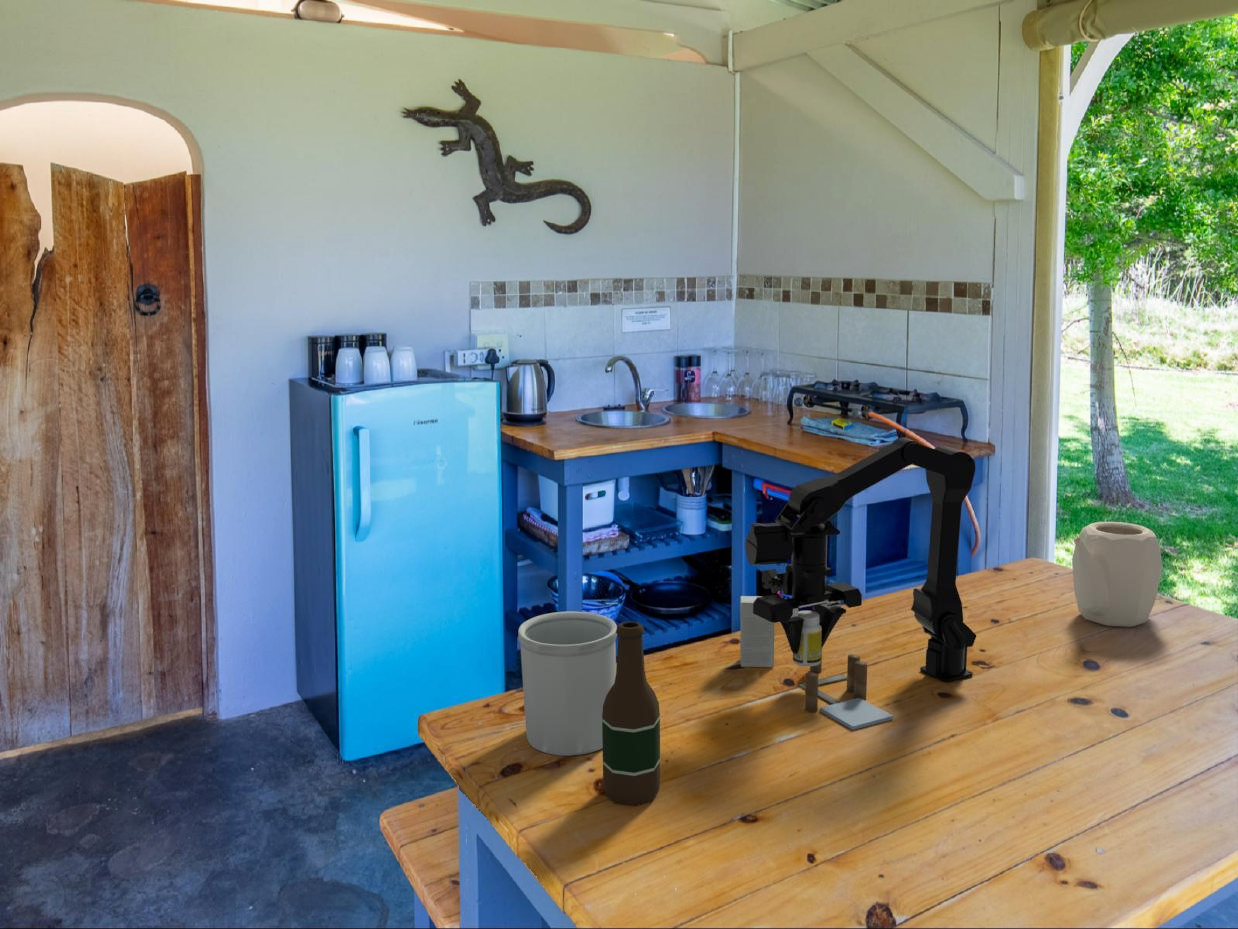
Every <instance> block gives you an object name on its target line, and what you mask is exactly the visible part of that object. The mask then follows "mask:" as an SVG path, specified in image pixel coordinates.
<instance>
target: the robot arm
mask: <svg viewBox="0 0 1238 929" xmlns="http://www.w3.org/2000/svg"><path fill="white" fill-rule="evenodd" d="M911 465H913V466H916V467H918V468H919V467H920V468H922V469H924V470H925V478H926V483H927V485H928V488H929V492H930V493H929V494H930V496H931V497H932V500H931V501H932V503H931V504H932V507H931V515H930V516H931V518H930V530H929V531H930V532H929V545H928V559H927V560H928V561H927V572H926V579H925V582H924V584H923V585H922V587H921V588H916V587H915V588H913V591H912V595H913V596H912V597H913V602H912V605H911V607H910V611H912V612H914V618H915V620H916V621H917V622H918V623H919V625H921V626H922V629H923V633H925V634H927V635H929V636H930V638H927V648H926V649H925V665H924V666H920V668H919V671H921V672H924V673H926V674H927V675H929V676H933V678H936V679H939V680H940V681H942V682H946V683H947V682H948V683H949V682H952V681H957V680H960V679H965V678H968V677H972V676H974V672H973V671H971V670H969V669H967V661H968V660H967V659H968V648H971V647H973V646H974V644H975V642H976V638H977V634H976V633H975V632H974V631H973V630H972V629H971V628H970V627H969V626H968V625H967V624H966V623H965V622H964V614H963V613H964V612H963V602H962V600H961V597H960V593H959V590H958V587H957V572H958V560H959V559H958V558H959V557H958V556H959V550H960V549H959V547H960V536H961V523H962V511H963V503H964V501H965V499H966V497H967V496H968V494H969V493H970V491H971V490H972V487H973V482H974V479H975V474H976V470H977V466H976V461H975V459H974V458H973V457H972V455H970V454H969V453H968V452H966V451H963V450H959V449H956V448H953V447H950V446H947V445H946V446H945V445H940V446H936V447H935V448H932V447H929V446H926V445H924V444H920V443H919V442H918V441H915V440H913V439H910V438H907V437H900V438H897V439H895V440H894V441H892V443H890V444H888V445H887V446H885V447H883V448H881V449H879V450H877V451H875V452H874V453H872V454H871V455H868V456H867V457H864V458H863V459H861V460H858V461H857V462H856V463H854V464H852V465H850V466H848V467H846V468H845V469H843V470H841V471H839V472H837V473H835V474H832V475H830V476H825V477H819V478H814V479H811V480H808V481H806V482H803V483H799V484H797V485H796V486H794V487H793V488H792V490H790V492H789V493H790V494H789V497H788V501H787V503H786V504H785V505H784V507H783V508H782V510H781V511H780V512H779V514H777V517H776V518H775V520H774V521H775V522H771V523H759V522H754V523H753V522H751V524H750V530H749V531H748V532H747V534H746V539H745V543H744V544H745V545H744V546H745V556H746V558H747V559H746V560H747V562H748V563H749V565H750V566H764V565H775V564H776V565H777V564H778V565H779V564H786V563H787V561H791V563H789V564H788V563H787V564H786V567H785V572H781V573H778V571H777V569H776V568H770V569H765V570H762V574H761V583H762V587H763V589H764V590H768V589H770V590H771V593H772V594H769V595H768V594H767V595H763V597H757V598H756V599H755V601H754V603H753V614H755V615H757V616H759V617H761V618H764V619H766V620H768V621H770V622H774V624H775V623H780V624H781V626H782V629H783V630H784V633H785V636H786V638H787V642H788V644H789V648H790V651H791V652H792V654H793V653H794V654H797V653H798V650H799V647H800V641H801V634H802V628H803V622H804V619H803V618H800V617H798V612H799V610H801V609H805V608H811V607H812V608H813V611H814V612H817V613H818V614H819V620H820V621H819V625H820V626H821V628H822V644H821V648H822V649H823V648H824V646H825V644H826V642H827V640H828V639H829V636H831V633H832V631H833V630H834V628H835V626H836V625H837V623H838V622H839V620H840V619H841V617H842V616H843V615H844V614H846V613H847V609H846V608H843V607H842V603H841V602H843V604H844V605H845V606H846V607H847V608H849V609H851V608H857V607H860V606H862V605H863V593H862V592H861V590H860V588H858V587H855V586H853V585H850V584H849V583H846V582H843V581H840V582H833V583H829V584H827V576H831V575H832V568H831V567H828V566H827V564H828V563H827V562H828V561H827V560H828V557H827V556H828V536H837V535H840V534H841V531H840V530H839V529H838V527H836V526H835V525H834V523H833V522H832V521H831V520H830V519H832V517H834V516H835V515H836V514H838V513H839V512H840V511H842V509H843V507H844V505H845V504H846V503H847V502H848V501H849V500H851V498H853V497H855V496H856V495H858V494H860V493H862V492H865V491H866V490H868V489H869V488H871V487H873V486H875V485H877V484H879V483H880V482H882V481H884V480H885V479H887V478H889V477H890V476H893V475H895V474H897V473H898V472H900V471H902V470H904V469H905V468H908V467H909V466H911ZM797 517H798V518H797ZM796 518H797V519H796ZM778 592H782V594H783V595H785V596H790V598H786V599H785V598H782V597H780V596H778V595H776V593H778Z"/></svg>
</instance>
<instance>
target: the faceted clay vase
mask: <svg viewBox="0 0 1238 929" xmlns="http://www.w3.org/2000/svg"><path fill="white" fill-rule="evenodd" d="M1072 541H1073V543H1074V544H1075V545H1074V550H1073V554H1072V558H1071V561H1072V563H1071V564H1072V578H1073V591H1074V595H1075V600H1076V605H1077V608H1078V612H1079V613H1080V614H1081V616H1082V617H1083V619H1085V620H1086V621H1090V622H1094V623H1098V624H1101V625H1103V626H1107V627H1123V628H1124V627H1127V628H1132V627H1135V626H1138V625H1141V624H1144V623H1146V622H1147V621H1148V619H1149V617H1150V615H1151V612H1152V610H1153V607H1154V605H1155V604H1156V600H1157V599H1156V598H1157V595H1158V590H1159V588H1160V583H1161V582H1160V581H1161V578H1162V574H1163V565H1162V553H1161V548H1160V545H1159V544H1160V543H1159V541H1158V538H1157V535H1156V534H1155V533H1154V531H1152V530H1151V529H1149V528H1147V526H1146V527H1145V526H1143V525H1139V524H1135V523H1131V522H1130V523H1129V522H1124V521H1123V522H1122V521H1097V522H1092V523H1090V524H1088V525H1086V526H1084V527H1083V528H1082V529H1081V531H1080V533H1079V535H1078V537H1075V538H1074V539H1072Z"/></svg>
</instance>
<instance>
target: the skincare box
mask: <svg viewBox="0 0 1238 929" xmlns="http://www.w3.org/2000/svg"><path fill="white" fill-rule="evenodd" d="M763 596H764V595H763ZM763 596H759V595H754V596H752V595H751V596H750V595H741V596H739V597H740V599H739V600H740V601H739V604H740V606H739V609H740V610H739V615H740V624H739V625H740V635H739V636H740V641H739V642H740V653H739V654H740V667H742V668H743V667H744V668H750V667H751V668H774V667H775V623H774V622H770V621H768V620H766V619H764V618H761V617H759V616H757V615H755V614H753V603H754V601H755V599H756V598H757V597H763Z"/></svg>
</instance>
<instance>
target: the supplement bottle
mask: <svg viewBox="0 0 1238 929" xmlns="http://www.w3.org/2000/svg"><path fill="white" fill-rule="evenodd" d="M798 617H800V618H803V619H804V622H803V628H802V634H801V641H800V647H799V650H798V653H797V654H794V653H793V652H792V662H793V663H794V664H796V665H797V666H800V667H810V666H816V665H818V664H820V663H821V644H822V628H821V626H820V625H819V621H820V620H819V614H818V613H817V612H815V611H814V610H800V611H798Z"/></svg>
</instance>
